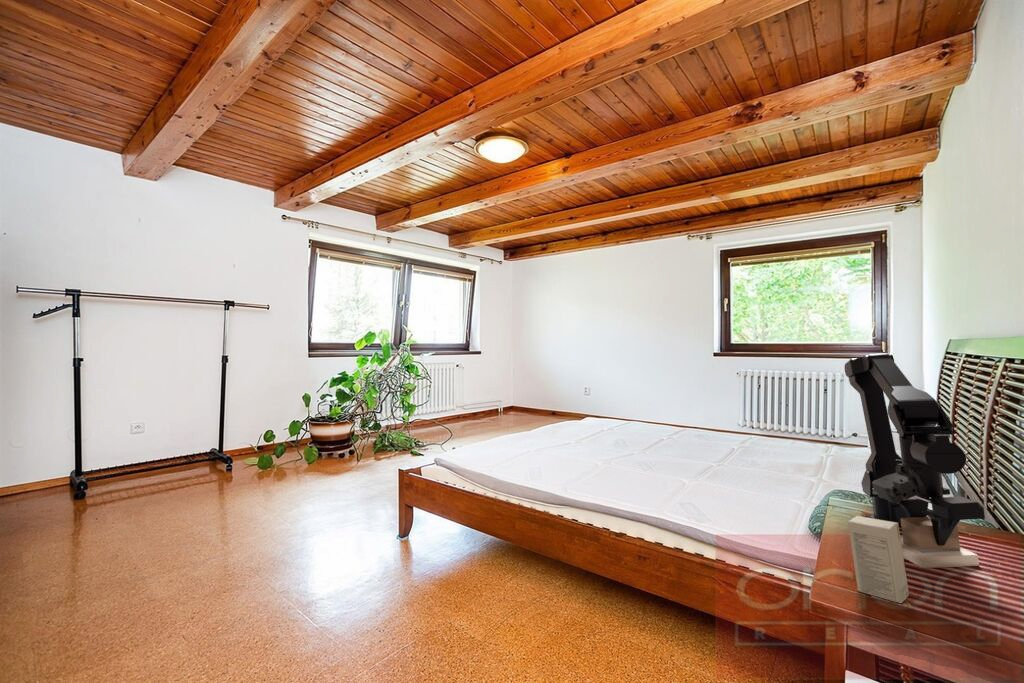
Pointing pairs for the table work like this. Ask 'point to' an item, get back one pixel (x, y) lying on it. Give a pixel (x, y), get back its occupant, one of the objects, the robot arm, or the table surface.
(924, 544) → the block
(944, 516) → the robot arm
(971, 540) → the table surface
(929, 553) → the birch board
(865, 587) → the skincare box
